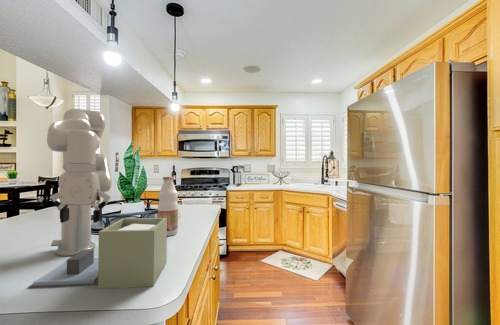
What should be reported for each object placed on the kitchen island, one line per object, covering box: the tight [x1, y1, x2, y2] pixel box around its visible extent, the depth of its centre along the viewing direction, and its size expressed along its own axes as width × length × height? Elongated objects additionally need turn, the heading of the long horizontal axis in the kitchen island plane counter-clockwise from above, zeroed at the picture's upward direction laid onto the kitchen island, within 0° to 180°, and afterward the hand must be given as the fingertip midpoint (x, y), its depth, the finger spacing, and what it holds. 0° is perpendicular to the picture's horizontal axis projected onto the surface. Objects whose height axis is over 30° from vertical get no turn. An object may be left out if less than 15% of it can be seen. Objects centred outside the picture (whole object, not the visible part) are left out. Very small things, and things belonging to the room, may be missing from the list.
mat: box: [27, 280, 98, 289], centre depth 75 cm, size 18×17×1 cm
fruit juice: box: [157, 176, 179, 237], centre depth 116 cm, size 9×9×28 cm
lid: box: [32, 248, 99, 286], centre depth 75 cm, size 16×16×6 cm
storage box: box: [97, 217, 168, 289], centre depth 74 cm, size 15×15×16 cm
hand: (81, 221), depth 75 cm, fingers open, 9 cm apart
